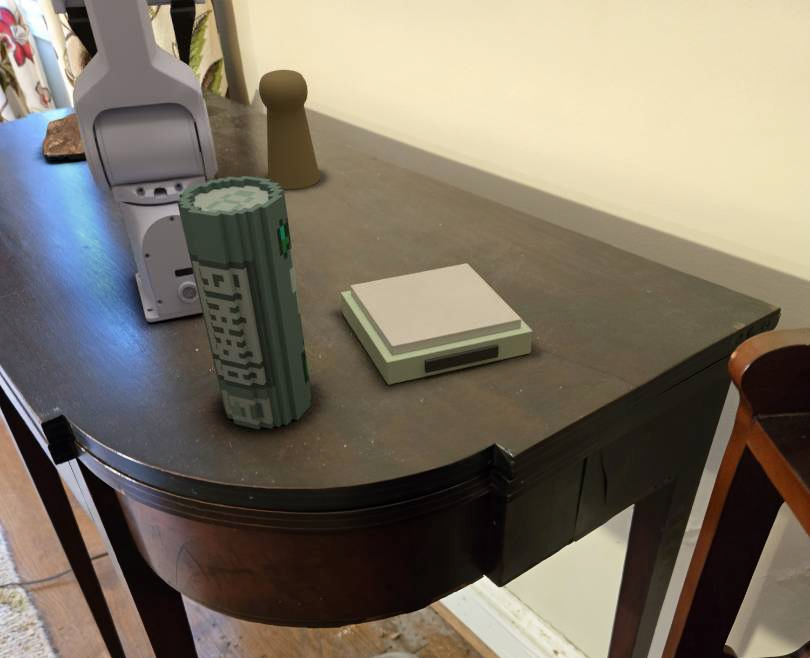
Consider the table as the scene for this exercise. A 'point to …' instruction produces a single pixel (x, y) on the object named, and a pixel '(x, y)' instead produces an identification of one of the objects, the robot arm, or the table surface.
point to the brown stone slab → (63, 139)
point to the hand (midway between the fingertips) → (150, 89)
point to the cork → (288, 130)
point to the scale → (433, 323)
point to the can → (248, 297)
